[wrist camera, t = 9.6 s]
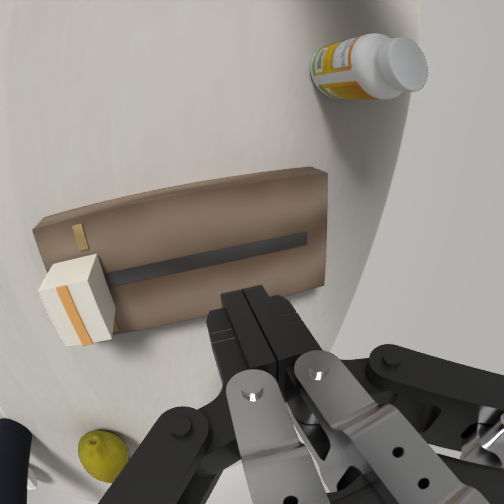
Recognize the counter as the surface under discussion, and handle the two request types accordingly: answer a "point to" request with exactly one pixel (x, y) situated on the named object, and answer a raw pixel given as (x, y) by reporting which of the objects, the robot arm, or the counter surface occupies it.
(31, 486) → the cell model
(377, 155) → the counter surface
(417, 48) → the supplement bottle
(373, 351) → the robot arm
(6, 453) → the black water bottle
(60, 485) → the counter surface
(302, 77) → the counter surface
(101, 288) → the block
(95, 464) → the lemon
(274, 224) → the brown flat piece
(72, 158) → the counter surface
